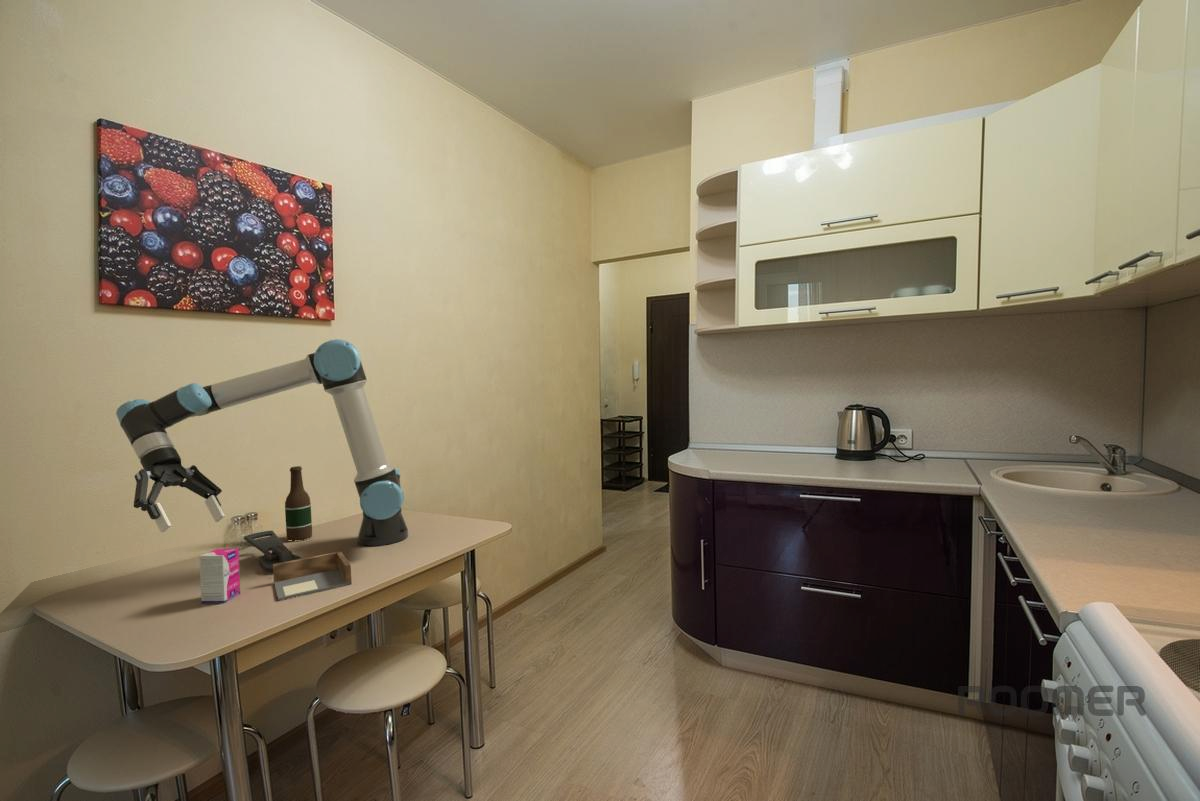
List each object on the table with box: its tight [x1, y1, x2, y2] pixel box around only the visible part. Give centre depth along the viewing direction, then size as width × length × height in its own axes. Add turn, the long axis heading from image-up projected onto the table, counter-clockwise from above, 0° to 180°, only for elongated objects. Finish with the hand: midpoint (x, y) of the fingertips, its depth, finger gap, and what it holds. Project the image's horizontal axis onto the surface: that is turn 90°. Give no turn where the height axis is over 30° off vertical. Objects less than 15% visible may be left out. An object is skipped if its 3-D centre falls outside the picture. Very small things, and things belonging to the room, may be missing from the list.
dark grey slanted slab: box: [243, 530, 302, 575], centre depth 155 cm, size 9×7×25 cm
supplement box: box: [199, 548, 241, 605], centre depth 129 cm, size 6×6×12 cm
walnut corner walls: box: [272, 550, 352, 586], centre depth 136 cm, size 16×14×5 cm
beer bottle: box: [284, 465, 313, 542], centre depth 177 cm, size 8×8×24 cm
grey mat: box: [273, 569, 352, 601], centre depth 136 cm, size 16×14×1 cm
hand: (194, 523), depth 132 cm, fingers open, 13 cm apart
